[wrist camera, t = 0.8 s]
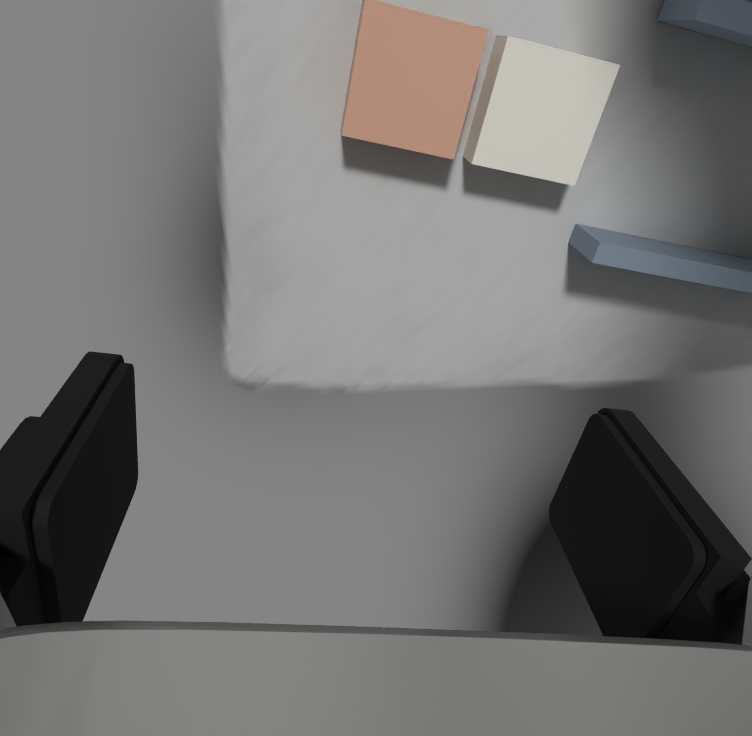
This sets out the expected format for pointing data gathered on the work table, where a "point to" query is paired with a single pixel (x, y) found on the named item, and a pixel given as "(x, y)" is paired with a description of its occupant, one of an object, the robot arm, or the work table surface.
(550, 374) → the work table surface
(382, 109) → the terracotta tile
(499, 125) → the cream tile
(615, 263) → the box
